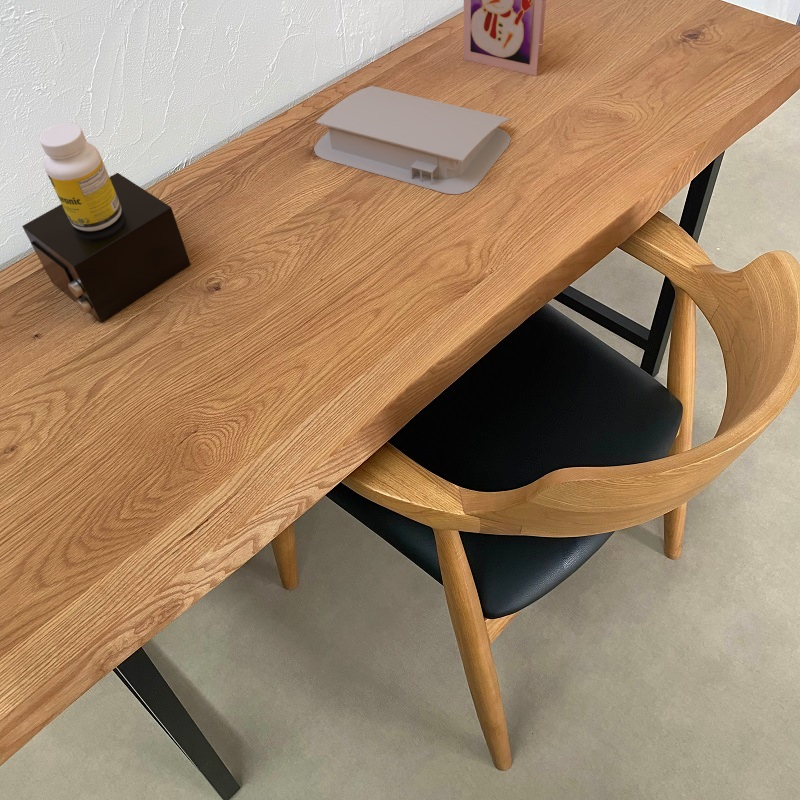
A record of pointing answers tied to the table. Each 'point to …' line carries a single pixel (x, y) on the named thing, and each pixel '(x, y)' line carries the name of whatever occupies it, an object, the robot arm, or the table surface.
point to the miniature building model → (413, 139)
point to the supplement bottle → (79, 178)
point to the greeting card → (504, 33)
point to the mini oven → (111, 252)
